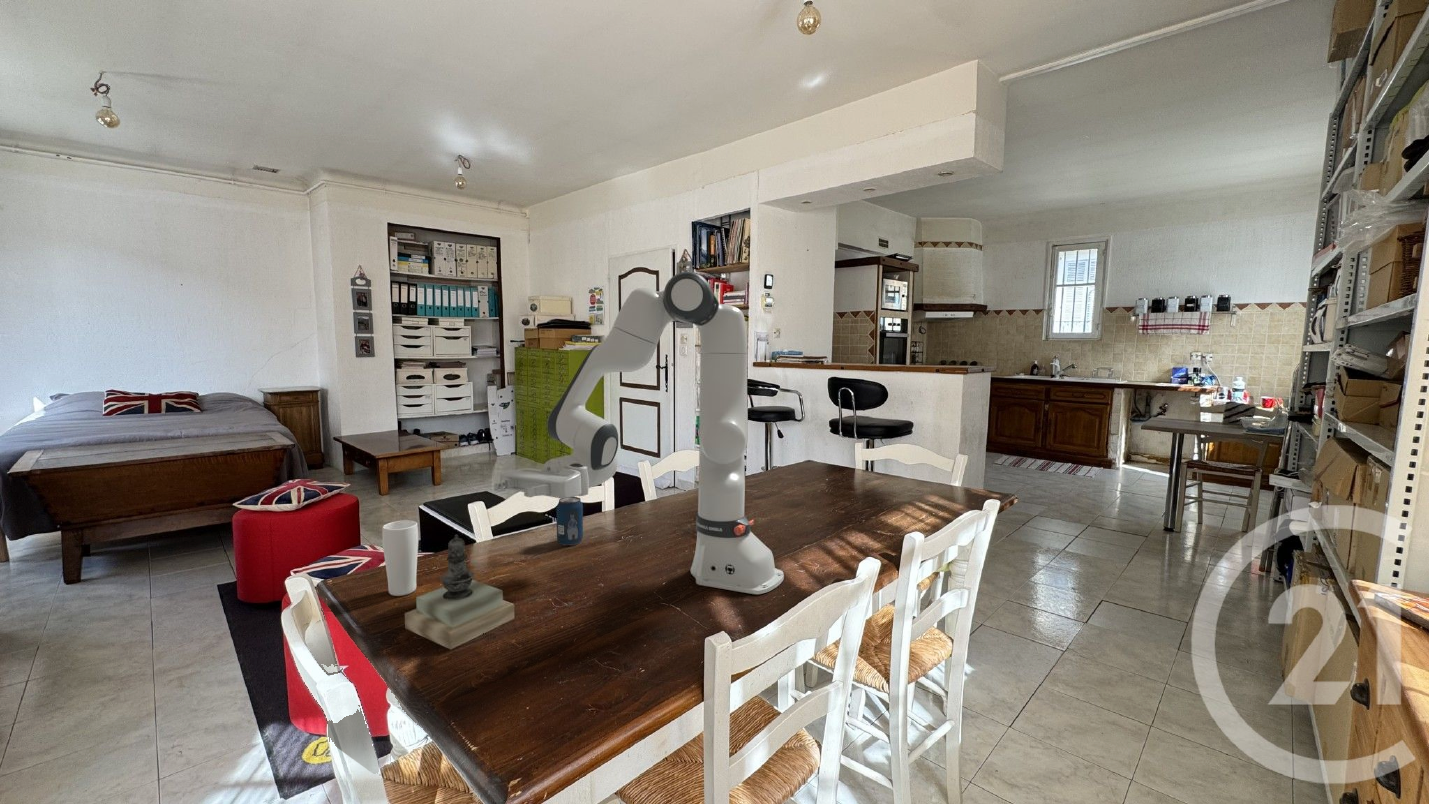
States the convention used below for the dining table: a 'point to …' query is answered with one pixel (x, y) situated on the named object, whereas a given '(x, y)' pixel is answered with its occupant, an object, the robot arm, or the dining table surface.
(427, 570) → the dining table surface
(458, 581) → the dark grey ornamental finial
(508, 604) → the brick tower base
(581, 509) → the soda can
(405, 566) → the drinking glass
